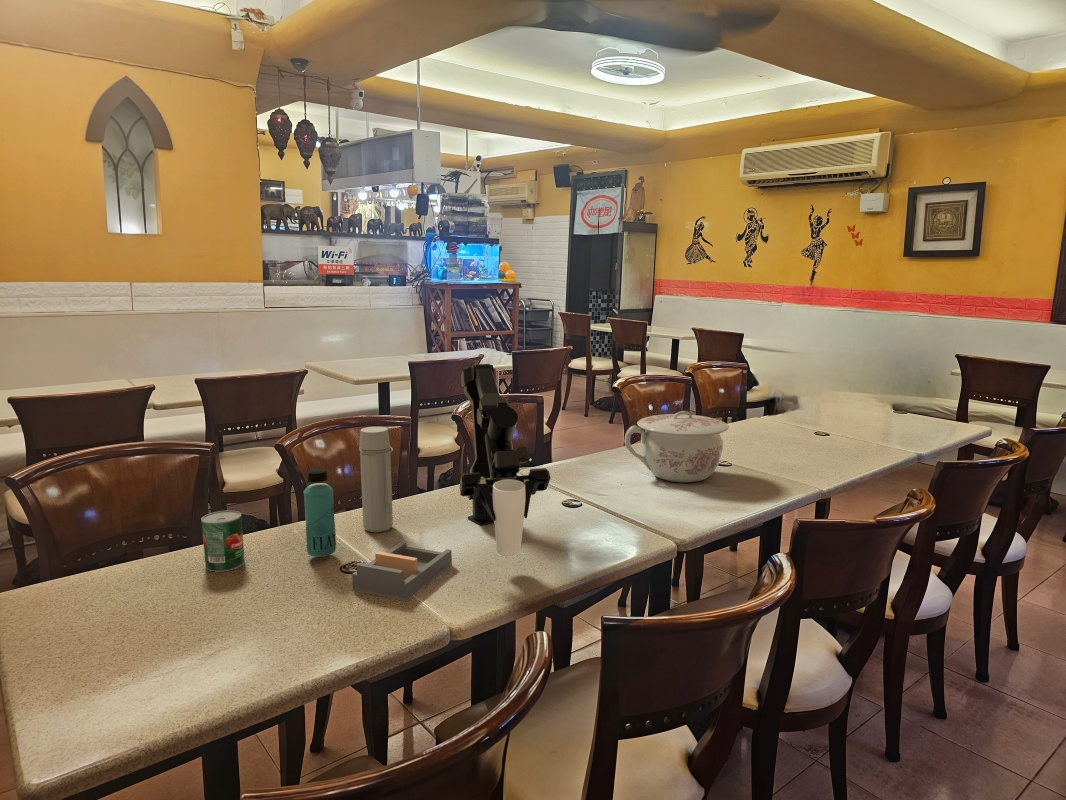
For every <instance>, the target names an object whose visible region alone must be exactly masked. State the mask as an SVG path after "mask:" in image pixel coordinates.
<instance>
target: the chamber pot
mask: <svg viewBox="0 0 1066 800" xmlns="http://www.w3.org/2000/svg"><path fill="white" fill-rule="evenodd" d="M636 424H637V425H636ZM636 424H635V425H632V426H630V427H629V428H628V429H627V430H626V432H625V435H624V445H625V448H626V449H627V450H628V452H629V453H630V454H631V455H632V456H634V457H635V458H636V459H638V460H639V461H640V462H641V463H642V464H644V466H645V467H646V468H647V469H648V470H649V471H650V473H651V474H653V475H654V476H655V477H656V478H659V479H661V480H663V481H667V482H671V483H678V484H680V483H681V484H691V483H696V482H700V481H704V480H706V479H708V478H710V476H712V474H713V472H714V471H715V470H716V469H717V467H718V466H719V464H720V463H721V458H722V454H723V451H724V440H723V439H722V436H721V434H723V433H725V432H727V431H728V430H729V428H730V426H729V425H728V423H726V422H725V421H722V420H719V419H717V418H714V417H710V416H709V417H708V416H705V415H704V416H703V415H695V414H692V413H691V412H690V411H687V410H681V411H677V412H676V413H666V414H665V413H664V414H657V415H656V414H655V415H650V416H646V417H643V418H640V419H639V420H638V421H637V422H636ZM634 433H636V434H638V433H639V434H640V435H641V437H640V447H641V452H642V453H641V454H639V453H638V452H636V450H635V449H634V448H633V447H632V445H631V438H632V434H634Z"/></svg>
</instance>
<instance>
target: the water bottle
mask: <svg viewBox="0 0 1066 800" xmlns="http://www.w3.org/2000/svg"><path fill="white" fill-rule="evenodd" d="M389 433H390V432H389V429H388V427H385V426H368V427H363V428H361V429H360V430H359V446H358V450H359V452H360V453H359V458H360V461H359V462H360V478H361V479H360V480H361V481H360V482H361V499H362V504H361V506H362V523H363V524H362V525H363V528H364V529H365V531H367V532H369V531H370V533H382V532H381V531H383V532H386V531H388V530H390V529H392V527H393V525H394V517H393V515H394V514H393V490H392V489H393V488H392V465H391V464H392V463H391V454H392V452H393V451H394V449H393V447H392V446H391V441H390V434H389Z"/></svg>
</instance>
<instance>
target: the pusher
mask: <svg viewBox="0 0 1066 800" xmlns="http://www.w3.org/2000/svg"><path fill="white" fill-rule="evenodd" d="M385 552H386V551H385ZM385 552H384V551H377V552H375V555H374V556H375V557H374V558H375V559H376V566H381V567H387V568H392V569H398V570H403V571H404V580H406V579H407V578H408V577H410V576H411V575H412V574H414V573H415V572H416V571H418V561H417V558H414V557H408V556H402V555H396V554H391V553H385Z"/></svg>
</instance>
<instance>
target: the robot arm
mask: <svg viewBox="0 0 1066 800" xmlns="http://www.w3.org/2000/svg"><path fill="white" fill-rule="evenodd" d="M460 375H461V376H460V380H461V382H460V383H461V387H462V388H463V391H464V396H465V397H466V398H467V400H468V401H469V402H470V404H471V414H472V415H471V417H472V431H473V447H474V461H473V464H472V466H471V468H470V469H469V472H463V473H462V474H461V476H460V481H459V493H460V496H462V497H467V498H468V500H469V501H471V502H472V515H468V516H467V519H468V520H470V521H472V522H474V523H476V524H478V525H480V526H484V525H487V524H491V523H494V521H495V519H496V518H495V512H494V509H493V484H494V483H495V482H497V481H500V480H505V479H513V480H518V481H521V482H523V483H524V484H525V492H526V500H525V513H524V519H527V518H528V517H529V516H528V515H529V509H530V502H531V497H532V496H534V495H535V494H537V492H543V491H547V489H548V486H549V483H550V482H551V481H550V480H551V474H550V470H548V469H547V468H546V467H542V468H530V469H529V472H528V475H518V474H519V472H520V466H521V464H526V463H528V462H529V452H528V447H527V446H518V448H516V450H514V447H513V440H512V439H513V438H514V435H515V432H516V427H517V424H518V419H519V415H518V413H517V412H516V410H515V409H514V408H513V407H511V406H510V404H509V402H508V399H507V398H505V397H503V396H501V395H500V393H499V389H498V386H497V383H498V382H497V369H496V367H494V365H493V364H490V363H475V364H473V365H472V366H471V367H467V368H465V369H463V370H462V372H461V374H460Z"/></svg>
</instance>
